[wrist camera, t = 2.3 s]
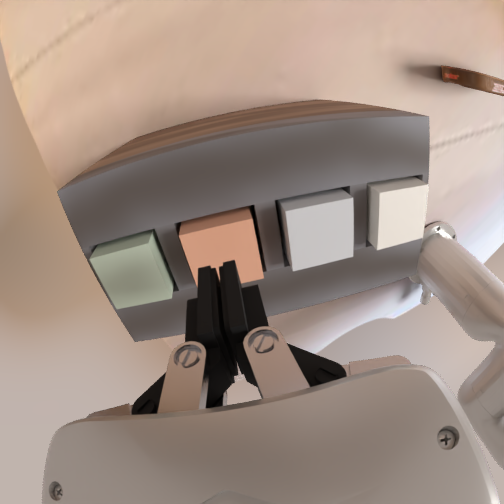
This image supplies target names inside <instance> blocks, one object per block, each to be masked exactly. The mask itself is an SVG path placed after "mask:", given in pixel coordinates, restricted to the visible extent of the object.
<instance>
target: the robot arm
mask: <svg viewBox="0 0 504 504" xmlns="http://www.w3.org/2000/svg"><path fill="white" fill-rule="evenodd" d="M219 275H220V280H219V277H218V273H217V270H216V268H211V266H210V265H209V266H205V267H201V268H198V287H197V298H193V299H189V300H187V309H186V331H185V342H184V343H182V344H180V345H178V346H177V347H176V348H175V349H174V350H173V351H172V353H171V355H170V358H169V363H168V367H167V371H166V373H165V374H164V375H163V376H162V377H160V378H159V379H158V380H157V381H156V382H155V383H154V384H153V385H152V386H151V387H150V388H149V389H148V390H147V391H146V392H144V393H143V394H142V395H141V396H140V397H139V398H138V399H137V400H136V401H135V403H134V404H133V405H130V404H129V403H128V404H125V405H121V406H117V407H114V408H110V409H106V410H102V411H98V412H94V413H92V414H89V415H88V416H87V418H84V419H80V420H76V421H73V422H70V423H68V424H66V425H64V426H62V427H61V428H59V429H58V430H57V431H56V432H55V434H54V436H53V437H52V440H51V443H50V446H49V449H48V453H47V458H46V464H45V470H44V478H43V491H42V504H500V500H499V497H498V493H497V489H496V486H495V483H494V480H493V477H492V474H491V471H490V468H489V465H488V462H487V460H486V457H485V455H484V452H483V450H482V448H481V445H480V443H479V441H478V439H477V436H476V434H475V432H476V433H477V435H478V436H479V438H480V439H481V441H482V442H483V443H484V445H485V446H486V448H487V449H488V451H489V452H490V454H491V455H492V457H493V458H494V460H495V461H496V462H497V463H498V465H499V466H500V467H501V468H503V469H504V284H503V283H502V282H501V281H500V280H499V279H498V278H497V277H496V276H495V275H494V274H493V273H492V272H491V271H490V270H489V269H488V268H487V267H485V266H484V265H483V264H482V263H481V262H480V261H479V260H478V259H477V258H476V257H474V256H473V255H472V254H471V253H470V252H469V251H468V250H466V249H465V248H464V247H463V246H462V245H460V244H459V243H458V242H457V237H456V233H455V230H454V229H453V228H452V226H450V225H449V224H448V223H445V222H436V223H433V224H431V225H429V226H427V227H426V228H424V234H423V238H422V243H421V249H420V255H419V261H418V266H417V271H416V275H413V276H410V277H408V278H409V279H410V280H411V281H412V282H414V283H417V284H421V285H422V290H423V293H422V295H421V299H420V302H421V303H422V304H424V305H426V304H428V303H429V300H430V297H431V293H432V294H433V295H435V296H436V297H438V299H439V300H440V301H441V303H442V304H443V305H444V306H445V307H446V309H447V310H448V311H449V312H450V313H451V315H452V316H453V317H454V318H455V319H456V321H457V322H458V323H459V325H460V326H461V327H462V328H463V330H464V331H465V332H466V333H467V334H468V335H469V336H470V337H471V338H473V339H475V340H478V341H494V342H496V344H495V347H494V348H493V350H492V351H491V352H490V354H489V355H488V356H487V357H486V358H485V360H484V361H483V362H482V363H481V364H480V365H479V366H478V367H477V368H476V369H475V370H474V371H473V372H472V374H471V375H470V376H469V377H468V378H467V379H466V380H465V381H464V383H463V384H462V385H461V387H460V389H459V391H458V400H457V398H456V396H455V395H454V393H453V392H452V390H451V389H450V387H449V386H448V385H447V383H446V382H445V381H444V380H443V378H442V377H441V376H440V375H439V374H438V373H437V372H435V371H434V370H432V369H431V368H428V367H426V366H422V365H413V364H411V363H410V361H409V360H408V359H406V358H405V357H402V356H388V357H382V358H375V359H368V360H361V361H353V362H349V364H348V365H340V364H338V363H336V362H334V361H331V360H328V359H326V358H323V357H320V356H318V355H315V354H313V353H310V352H308V351H305V350H303V349H300V348H298V347H295V346H293V345H290V344H288V343H286V341H285V339H284V338H283V336H282V334H281V333H280V332H279V330H277V329H275V328H273V327H269V325H268V321H267V317H266V313H265V310H264V306H263V302H262V298H261V294H260V290H259V287H258V284H257V285H252V286H248V287H243V288H242V285H241V282H240V278H239V274H238V270H237V266H236V262H235V260H231V261H227V262H223V266H219ZM237 363H238V366H239V368H240V371H241V373H242V374H244V375H245V378H246V380H247V382H249V383H251V384H253V385H254V386H256V387H258V390H259V393H260V395H261V398H262V399H259V400H254V401H249V402H244V403H238V404H232V405H227V391H226V390H227V389H228V388H229V387H230V385H231V384H232V383H235V380H234V376H237V375H238V368H237ZM473 429H474V430H473ZM474 431H475V432H474Z"/></svg>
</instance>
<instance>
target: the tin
mask: <svg viewBox="0 0 504 504" xmlns="http://www.w3.org/2000/svg"><path fill="white" fill-rule="evenodd" d="M441 67H442V78H443V81H444V82H447V83H448V82H450V83H455V84H459V85H462V86H464V87H468V88H472V89H476V90H481V91H485V92H489V93H493V94H497V95H501V96H504V80H502V79H499V78H496V77H493V76H490V75H486V74H483V73H479V72H475V71H471V70H466V69H461V68H455V67H449V66H442V65H441Z"/></svg>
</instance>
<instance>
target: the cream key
mask: <svg viewBox="0 0 504 504" xmlns="http://www.w3.org/2000/svg"><path fill="white" fill-rule="evenodd" d="M428 187H429V184H427V183H425V182H423V181H421V180H420V179H418V178H416V177H414V176H408V177H401V178H394V179H388V180H382V181H375V182H369V183H367V225H366V239H367V240H368V241H369V242H370V243H371V244H372V245H373V246H374V247H375V249H376V250H380V249H384V248H388V247H391V246H395V245H399V244H402V243H406V242H410V241H413V240H417V239H421V238H423V234H424V227H425V219H426V210H427V200H428Z"/></svg>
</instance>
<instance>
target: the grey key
mask: <svg viewBox="0 0 504 504" xmlns="http://www.w3.org/2000/svg"><path fill="white" fill-rule="evenodd" d="M276 203H277V209H278V216H279V223H280V229H281V236H282V243H283V250H284V253H285V255H286V257H287V259H288V261H289V264H290V266H291V268H292V270H293V271H297V270H301V269H305V268H310V267H314V266H318V265H322V264H326V263H330V262H334V261H338V260H342V259H346V258H350V257H353V243H354V208H353V197H352V196H350V195H349V194H348V193H347V192H346V191H344V190H343V189H342V188H341V187H340V188H334V189H329V190H323V191H318V192H313V193H308V194H302V195H297V196H292V197H287V198H283V199H278V200H276Z"/></svg>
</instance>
